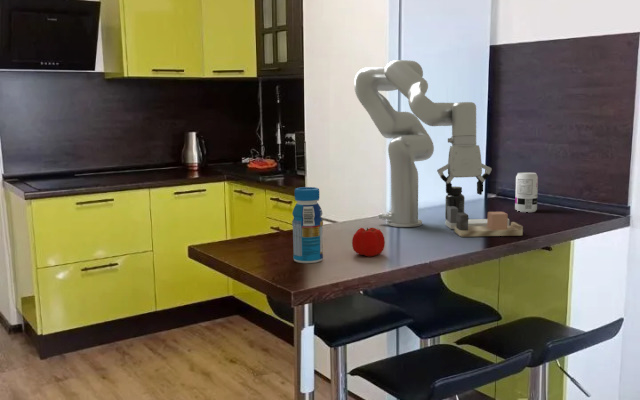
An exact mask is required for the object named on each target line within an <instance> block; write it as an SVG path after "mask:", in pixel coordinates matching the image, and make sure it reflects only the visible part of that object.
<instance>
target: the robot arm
mask: <svg viewBox="0 0 640 400" xmlns="http://www.w3.org/2000/svg"><path fill="white" fill-rule="evenodd" d="M428 88H429V83H428V81H427V80H426V79H425V78H424V71H423V68H422V66H421V65H420V63H419V62H417V61H415V60H408V59H407V60H404V59H395V60H392V61H389V63H387V64H386V66H385V67H384V66H383V67H380V66H379V67H378V66H371V67H364V68H361V69H360V70H359V71H358V72H357V73H356V74H355V77H354V92H355V96H356V98H357V100H358V101H359V103H360V104H361V106H363V108H364V109H365V111H366V112H367V113H368V115H369V117H370V119H371V120H372V122H373V123H374V125H375V127H376V128H377V130H378V132H379V133H380V135H381V136H383V138H386V139H391V140H390V142H389V144H388V148H387V152H388V157H389V164H390V165H389V166H390V184H391V185H390V187H391V188H390V197H391V199H390V210H388V212H386V213H377V219H378V220H386V225H387V226H390V227H394V228H395V227H396V228H414V227H420V226H422V225H423V220H421V219H419V173H418V172H419V171H418V168H417V166H416V163H415V162H423V161H427V160H428V159H431V157H432V156H433V155H434V151H435V146H434V142H433V139H432V138H431V136H430V134H429V133H428V131H427V130H426V129H425V127H424V125H423V124H425V125H427V126H429V127H448V126H449V127H450V126H451V131H452V132H451V137H449V138H447V143H450V144H451V145H450V147H449V152H448V159H447V160H448V161H447V164H445V165H443V166H442V167H440V168H437V171H436V172H437V173H438V175H439V177H440V179H441V181H444V183H445V192H446V195H449V196H451V195H452V187H453V184H452V180H453V179H454V178H476V179H477V182H476V194H478V195H479V196H480V195H483V192H484V182H485V181H486V179H488V178H489V175H490V174H491V172H492V167H490V166H487V165H486V164H484V163H482V156H481V155H482V154H481V148H480V145H478V144H477V105H476V103H475V102H472V101H465V102H463V101H462V102H433V101H432V100H431V99H430V98H429V97H427V95H426V93H427V91H428V90H429V89H428ZM397 90H398V91H399V93H401V94H402V95H403V96H404V97H405V98H407V100H408V106H409V109H410V111H411V112H409V111H398V110H396V109H394V107H393V106H392V104H391V103H390V101H389V100H388V99H387V98H386V97H385V96H384V95H383V94H382V93H380V92H389V91H390V92H393V91H397ZM421 122H422V123H423V124H422V123H421ZM483 169H484V170H485V172H484V173H483ZM445 171H447V174H448V175H447V176H446V175H445V174H444V172H445ZM482 173H483V174H482Z"/></svg>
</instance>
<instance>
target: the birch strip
mask: <svg viewBox="0 0 640 400" xmlns="http://www.w3.org/2000/svg"><path fill="white" fill-rule="evenodd" d="M468 219H469V214H467V213H466V212H465V211H464V212H462V213H457V223H456V227H455V229H453V230H454V231H453V232H454V233H456V235H458V236H459V237H463V238H464V237H465V238H467V237H500V236H501V237H505V236H506V237H509V236H510V237H511V236H514V237H515V236H523V232H524V229H523V228H524V226H523V225H522V224H520V223H518V222H516V221H510V225H509V226H507V230H491V229H490V228H488V227H487V226H468Z"/></svg>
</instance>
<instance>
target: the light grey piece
mask: <svg viewBox="0 0 640 400" xmlns="http://www.w3.org/2000/svg"><path fill="white" fill-rule="evenodd" d="M457 213H458V208H456V207H455V206H447V220H446V219H445V226H446V227H448V228H449V229H450V230H455V227H456V223H457ZM468 226H487V218H476V219H475V218H474V219H469V218H468ZM507 226H510V219H509V218H508V222H507Z"/></svg>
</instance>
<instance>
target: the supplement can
mask: <svg viewBox="0 0 640 400" xmlns="http://www.w3.org/2000/svg"><path fill="white" fill-rule="evenodd" d="M538 176H539V175H537V173H536V172H517V174H516V175H515V191H514V192H515V193H514V194H515V198H514V210H517V211H516V212H518V211H520V212H519V213H526V212H528V213H536V211H537V210H538V192H539V191H538V189H539V188H538V187H539V186H538V185H539V177H538Z"/></svg>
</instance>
